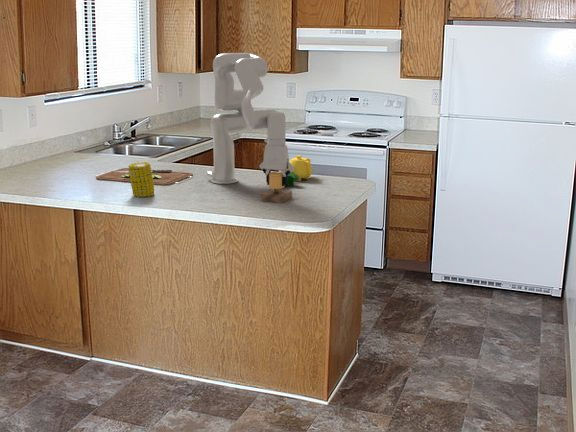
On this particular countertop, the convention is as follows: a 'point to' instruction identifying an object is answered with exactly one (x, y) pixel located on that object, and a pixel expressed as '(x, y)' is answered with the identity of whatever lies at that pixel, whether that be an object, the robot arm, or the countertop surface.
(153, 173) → the chopping board
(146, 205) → the countertop surface
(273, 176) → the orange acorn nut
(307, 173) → the teapot
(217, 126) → the robot arm
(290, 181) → the clamp
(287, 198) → the post block
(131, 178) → the food
